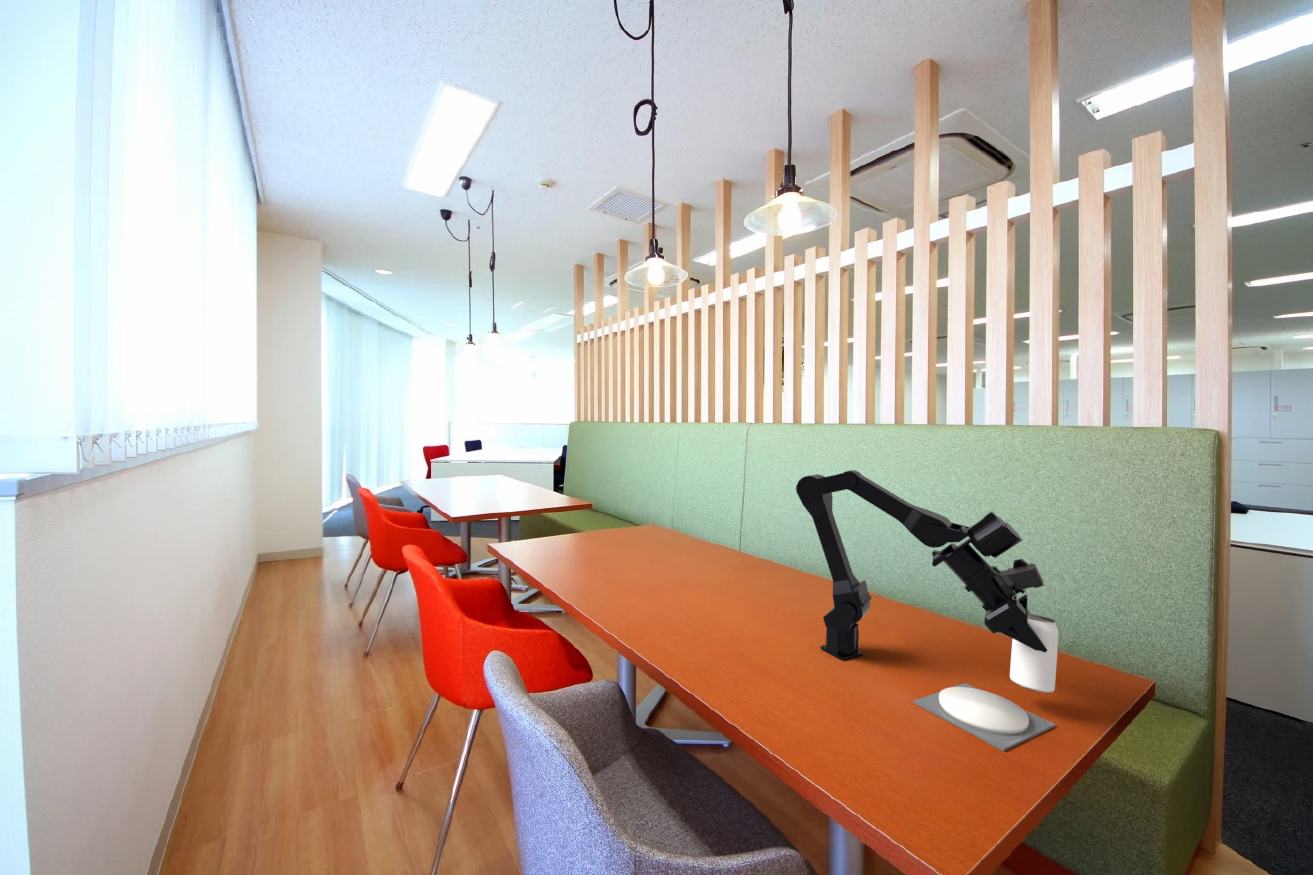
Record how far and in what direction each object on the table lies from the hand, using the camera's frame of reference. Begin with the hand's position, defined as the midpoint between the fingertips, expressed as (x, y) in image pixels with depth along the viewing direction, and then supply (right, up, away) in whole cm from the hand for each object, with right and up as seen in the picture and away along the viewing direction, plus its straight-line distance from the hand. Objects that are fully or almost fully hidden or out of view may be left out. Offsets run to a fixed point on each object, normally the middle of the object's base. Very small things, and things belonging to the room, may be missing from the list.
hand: (1044, 645), depth 90 cm
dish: (-13, -11, -3) cm, 17 cm away
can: (-2, -7, 0) cm, 8 cm away
